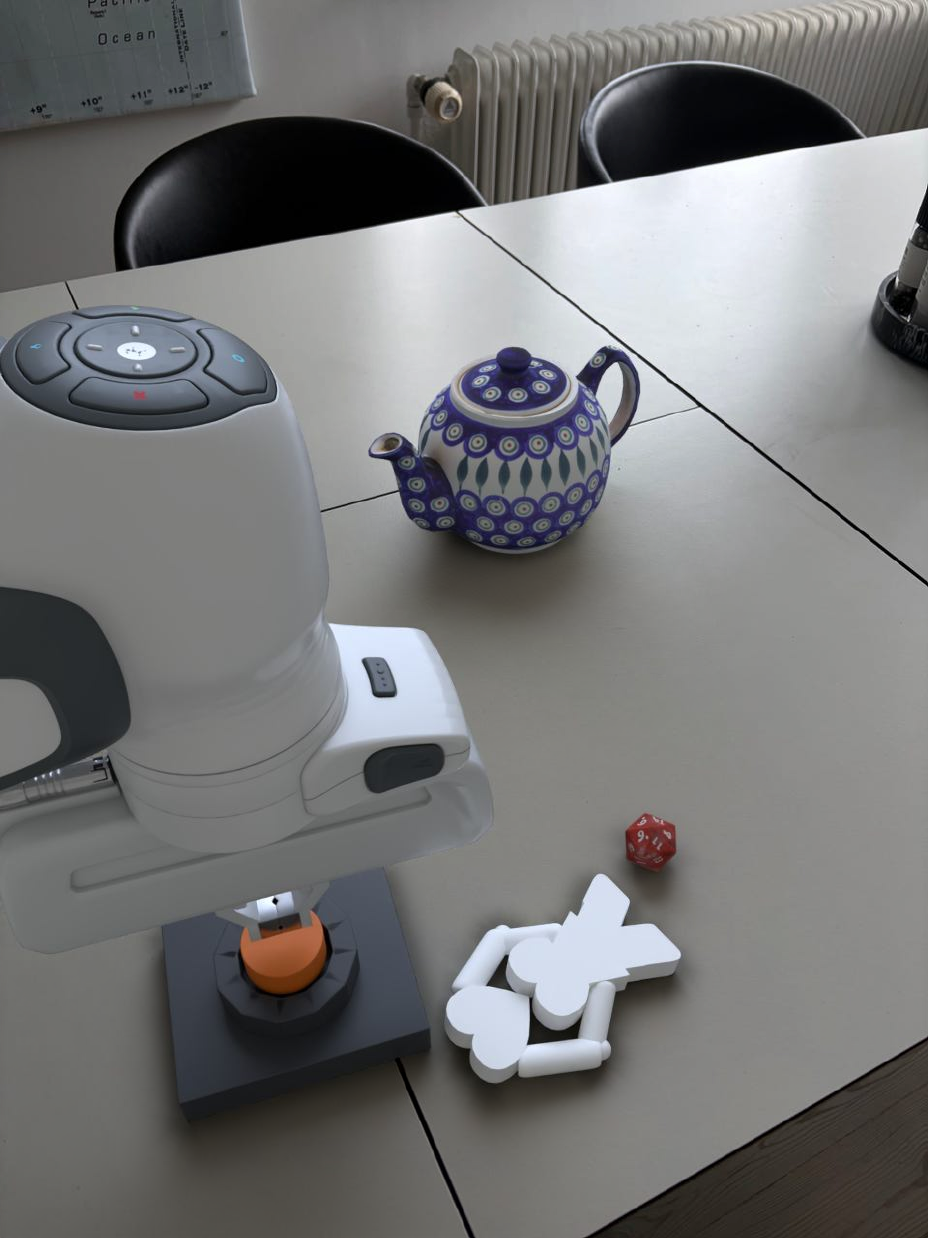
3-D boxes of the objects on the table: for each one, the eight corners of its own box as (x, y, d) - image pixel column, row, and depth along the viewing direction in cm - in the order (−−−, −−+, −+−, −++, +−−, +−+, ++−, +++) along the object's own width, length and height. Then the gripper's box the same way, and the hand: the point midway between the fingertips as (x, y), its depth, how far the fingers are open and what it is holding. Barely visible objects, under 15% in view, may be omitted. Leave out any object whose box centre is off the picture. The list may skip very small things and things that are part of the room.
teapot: (578, 428, 91) (592, 271, 81) (688, 513, 82) (719, 347, 72) (331, 518, 82) (312, 352, 71) (424, 625, 72) (418, 453, 62)
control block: (187, 1123, 48) (170, 1088, 45) (168, 938, 55) (153, 898, 52) (431, 1048, 50) (429, 1011, 47) (383, 881, 57) (379, 840, 54)
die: (680, 847, 59) (688, 817, 57) (662, 888, 57) (669, 858, 55) (633, 827, 60) (639, 797, 58) (613, 866, 58) (619, 836, 56)
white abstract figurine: (410, 987, 52) (413, 964, 50) (581, 879, 58) (587, 856, 57) (519, 1132, 47) (524, 1111, 45) (693, 997, 53) (703, 975, 51)
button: (251, 1005, 48) (246, 987, 47) (240, 932, 51) (234, 914, 50) (333, 981, 49) (330, 964, 48) (317, 911, 52) (314, 893, 50)
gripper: (-68, 871, 34) (51, 1050, 43) (510, 731, 38) (503, 921, 47) (-55, 732, 38) (50, 922, 48) (461, 621, 42) (463, 816, 52)
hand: (280, 921), depth 48 cm, fingers closed
